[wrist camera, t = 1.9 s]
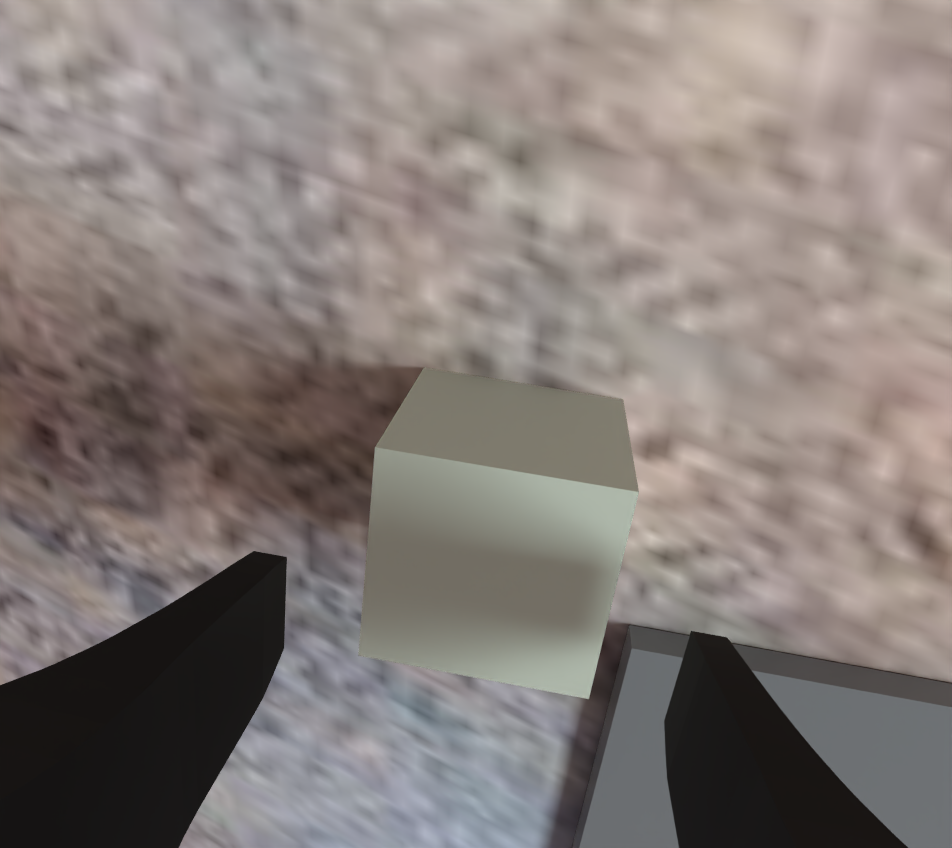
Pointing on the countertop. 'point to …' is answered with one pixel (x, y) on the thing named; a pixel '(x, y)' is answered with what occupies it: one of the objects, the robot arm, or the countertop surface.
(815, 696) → the slate tile
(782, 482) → the countertop surface
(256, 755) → the countertop surface
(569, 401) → the cube
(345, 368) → the countertop surface
